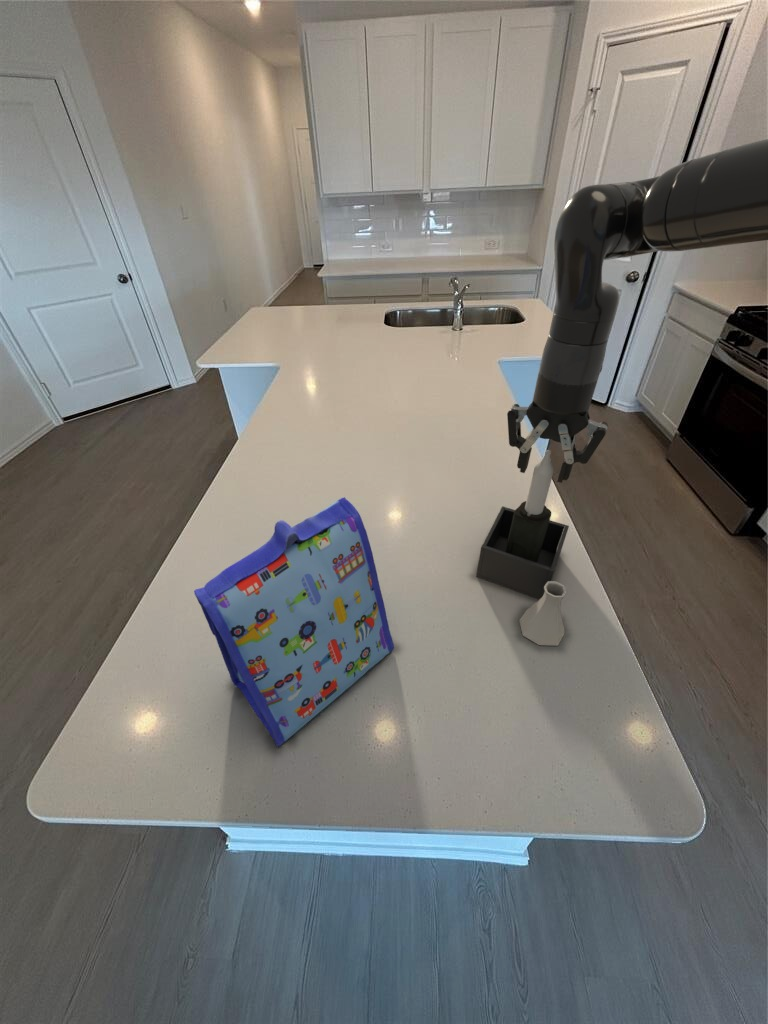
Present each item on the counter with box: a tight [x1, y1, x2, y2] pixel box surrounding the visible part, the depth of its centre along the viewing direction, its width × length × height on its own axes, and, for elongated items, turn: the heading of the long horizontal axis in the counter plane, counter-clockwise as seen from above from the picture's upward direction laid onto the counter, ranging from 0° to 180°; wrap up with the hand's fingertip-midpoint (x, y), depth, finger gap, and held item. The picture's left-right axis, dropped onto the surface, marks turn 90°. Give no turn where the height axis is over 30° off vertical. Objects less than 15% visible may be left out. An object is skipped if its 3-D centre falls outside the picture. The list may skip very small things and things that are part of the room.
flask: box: [518, 580, 567, 647], centre depth 69 cm, size 7×7×10 cm
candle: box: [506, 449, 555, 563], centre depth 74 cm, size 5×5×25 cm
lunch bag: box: [193, 497, 395, 747], centre depth 59 cm, size 22×14×29 cm, turn 133°
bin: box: [475, 505, 570, 600], centre depth 80 cm, size 12×12×8 cm
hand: (542, 474), depth 69 cm, fingers open, 5 cm apart
